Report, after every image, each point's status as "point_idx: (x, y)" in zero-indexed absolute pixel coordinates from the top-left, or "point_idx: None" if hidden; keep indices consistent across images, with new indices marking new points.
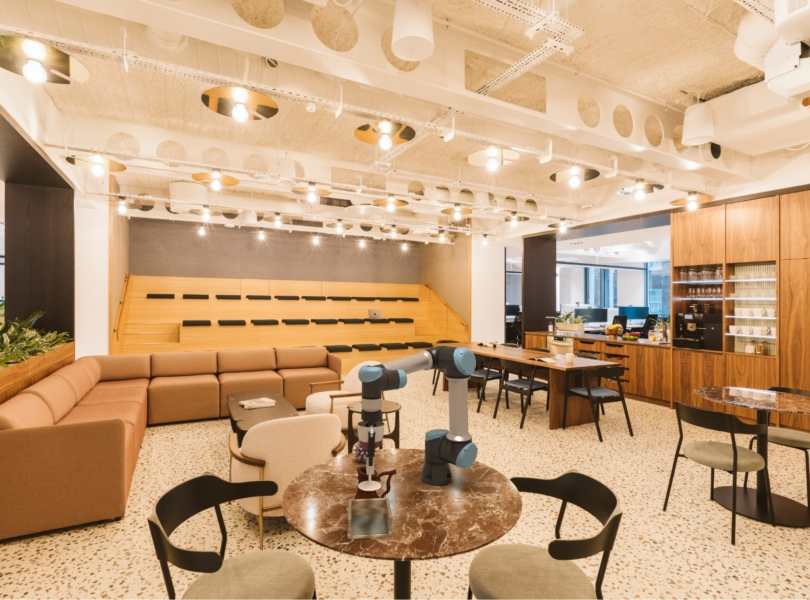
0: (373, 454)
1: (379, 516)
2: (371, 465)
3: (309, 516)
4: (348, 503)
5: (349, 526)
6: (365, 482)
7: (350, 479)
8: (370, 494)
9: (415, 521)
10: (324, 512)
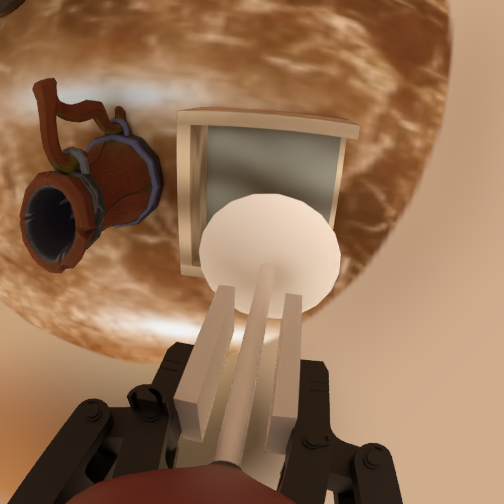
0: (389, 477)
1: (222, 145)
2: (322, 373)
3: (189, 334)
4: None
5: None
6: (234, 283)
7: (7, 217)
8: (124, 182)
9: (260, 18)
10: (169, 301)
